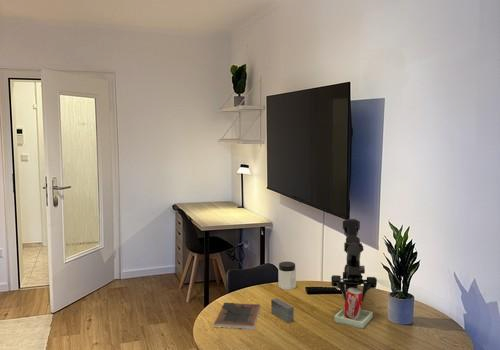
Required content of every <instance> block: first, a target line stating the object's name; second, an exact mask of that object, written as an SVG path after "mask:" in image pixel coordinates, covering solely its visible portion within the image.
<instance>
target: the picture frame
mask: <svg viewBox="0 0 500 350" xmlns="http://www.w3.org/2000/svg"><path fill="white" fill-rule="evenodd" d="M260 310H261V304H259V303H258V304H257V303H256V304H255V303H237V302H236V303H234V302H224V303H223V304H222V307H221V309H220V311H219V313H218V315H217V316H216V318H215V320H214V323H213V327H214V326H221V327H230V328H241V329H240V330H248V331H249V330H252V331H254V329H255V327H256V323H257V320H258V316H259V312H260ZM230 328H229V329H230Z"/></svg>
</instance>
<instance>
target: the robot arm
mask: <svg viewBox="0 0 500 350" xmlns="http://www.w3.org/2000/svg"><path fill="white" fill-rule="evenodd" d="M360 224H361V221H359V220H358V219H356V218H347V219H344V220H342V230H343V234H344V236H345V237H346V238H345V242H344V244H343V248H344V249H343V250H344V252H345V253H346V264H345V266H344V268H343V269H344V271H343V272H342V275H334V274H333V275H332V276H331V277H330V279H331V284H330V285H331V286H332V287H336V288H337V289H339V290H340V292H341V294H342V297H343V299H344V302H345V301H346V292H347V291H348V289H349V288H357V289H359V286H362V296H363V298H362V303H363V302H364V300H365V297H366V294H367V292H368V290H369V291H370V290H371V289H376V288H377V283H378V281H377V277H375V276H366V279H363V275H362V274H365V272H366V271H365V270H366V269H365V265H361V262H360V261H361V253H363V251H364V245H363V243H362V242H361V239H360V238H359V237H358V236H359V231H360V229H361V225H360ZM341 276H342V277H341Z"/></svg>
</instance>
